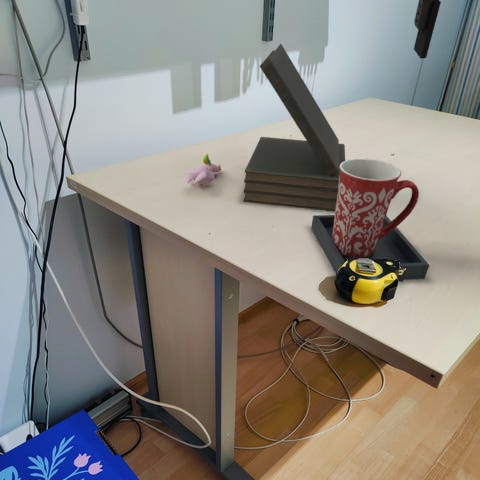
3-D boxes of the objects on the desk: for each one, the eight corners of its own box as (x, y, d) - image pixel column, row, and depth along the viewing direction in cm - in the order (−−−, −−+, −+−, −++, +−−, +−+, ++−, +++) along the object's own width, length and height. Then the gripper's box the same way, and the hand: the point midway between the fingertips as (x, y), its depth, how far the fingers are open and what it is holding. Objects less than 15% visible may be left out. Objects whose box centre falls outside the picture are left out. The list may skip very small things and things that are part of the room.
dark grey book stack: (340, 212, 83) (369, 66, 67) (242, 201, 86) (248, 58, 70) (340, 171, 101) (363, 47, 85) (259, 163, 103) (266, 41, 87)
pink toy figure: (202, 175, 99) (176, 189, 86) (202, 148, 96) (177, 158, 83) (227, 179, 98) (205, 193, 85) (229, 152, 95) (206, 162, 82)
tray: (381, 226, 79) (384, 213, 78) (424, 279, 66) (429, 264, 64) (311, 228, 78) (313, 215, 76) (340, 283, 64) (343, 268, 62)
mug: (326, 259, 68) (342, 177, 60) (324, 232, 75) (337, 155, 67) (405, 266, 67) (433, 184, 59) (396, 238, 74) (419, 161, 66)
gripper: (435, -166, 38) (387, 74, 56) (709, -213, 38) (574, 43, 56) (406, -181, 42) (370, 47, 60) (654, -224, 42) (544, 18, 60)
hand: (468, 45), depth 58 cm, fingers open, 13 cm apart
